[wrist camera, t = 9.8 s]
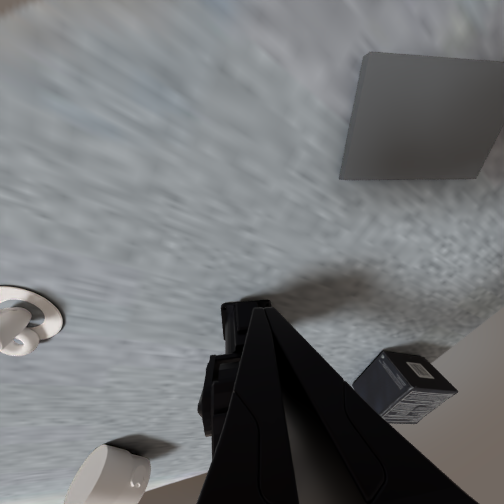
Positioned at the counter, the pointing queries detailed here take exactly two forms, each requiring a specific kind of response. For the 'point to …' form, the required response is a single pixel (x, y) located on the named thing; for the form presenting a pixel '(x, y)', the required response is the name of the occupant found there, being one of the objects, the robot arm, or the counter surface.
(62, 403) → the counter surface
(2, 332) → the teacup and saucer
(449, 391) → the small box
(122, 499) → the white cylinder
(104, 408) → the counter surface
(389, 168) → the mat
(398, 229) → the counter surface
